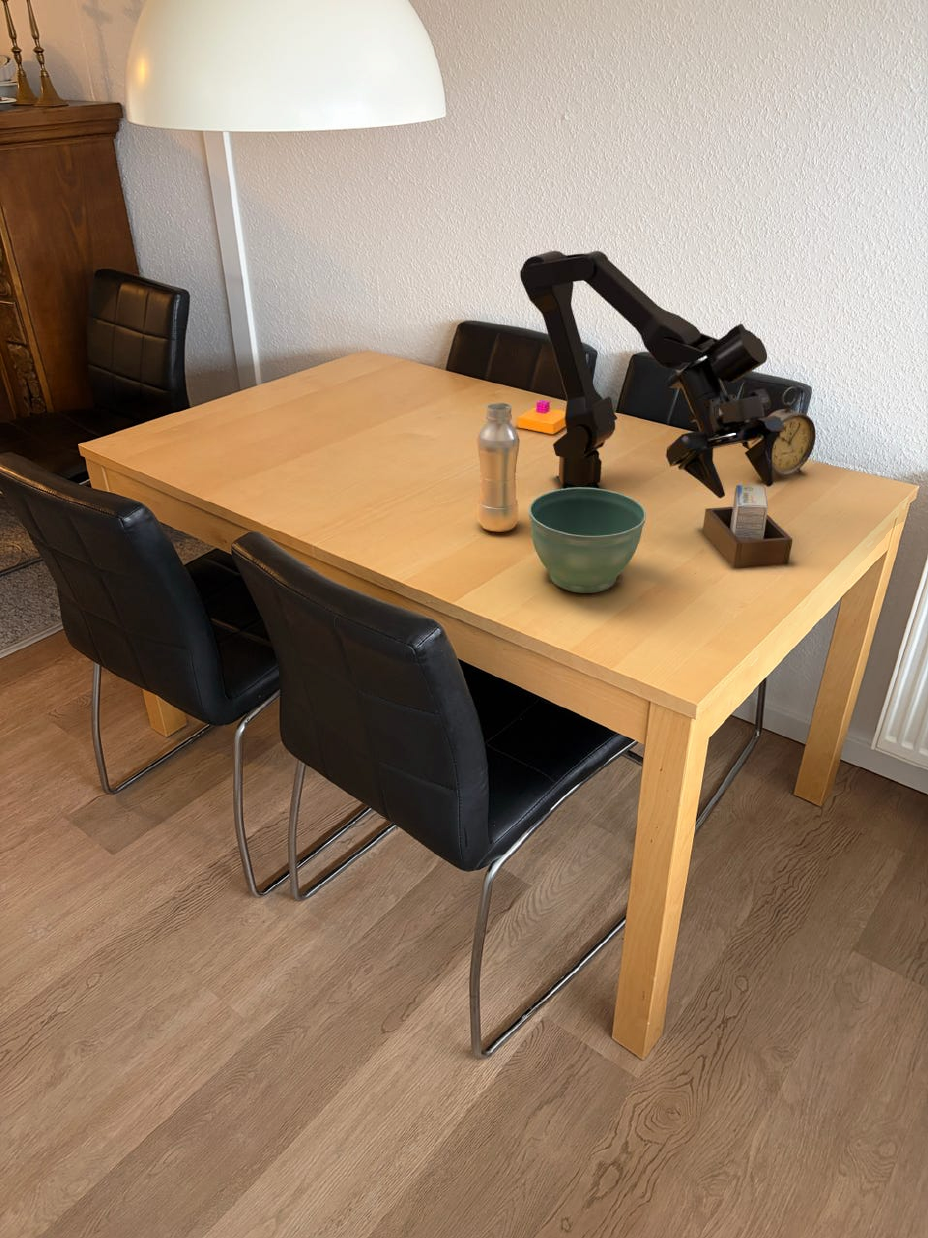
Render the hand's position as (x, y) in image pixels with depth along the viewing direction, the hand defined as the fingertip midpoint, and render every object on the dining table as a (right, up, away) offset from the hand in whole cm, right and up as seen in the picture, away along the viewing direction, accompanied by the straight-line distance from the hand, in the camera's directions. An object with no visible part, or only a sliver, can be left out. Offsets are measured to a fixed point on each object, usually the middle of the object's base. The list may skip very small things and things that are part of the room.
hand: (746, 491), depth 146 cm
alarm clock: (+13, +6, +28) cm, 31 cm away
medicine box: (+1, -8, +3) cm, 9 cm away
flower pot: (-25, -14, -5) cm, 29 cm away
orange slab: (-26, +23, +51) cm, 62 cm away
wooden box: (+1, -8, +3) cm, 9 cm away
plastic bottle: (-37, -5, +10) cm, 39 cm away
